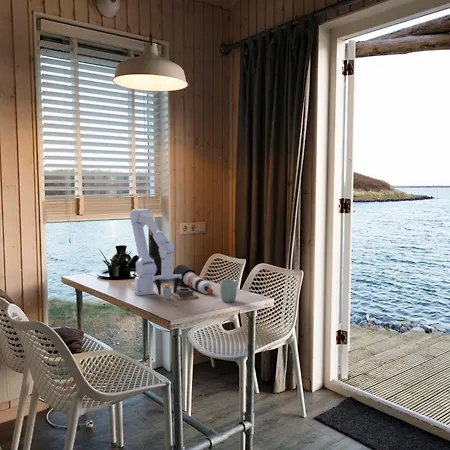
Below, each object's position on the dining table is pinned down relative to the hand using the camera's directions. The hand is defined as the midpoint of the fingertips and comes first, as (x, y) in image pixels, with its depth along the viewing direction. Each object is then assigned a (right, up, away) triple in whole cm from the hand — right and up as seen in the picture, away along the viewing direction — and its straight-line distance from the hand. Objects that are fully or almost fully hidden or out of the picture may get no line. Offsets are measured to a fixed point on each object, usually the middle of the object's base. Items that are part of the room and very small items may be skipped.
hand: (167, 293), depth 220 cm
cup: (+31, -3, -5) cm, 31 cm away
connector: (0, -2, 0) cm, 2 cm away
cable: (+12, -1, +20) cm, 24 cm away
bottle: (-14, +2, +46) cm, 48 cm away
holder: (+8, -2, +4) cm, 9 cm away
